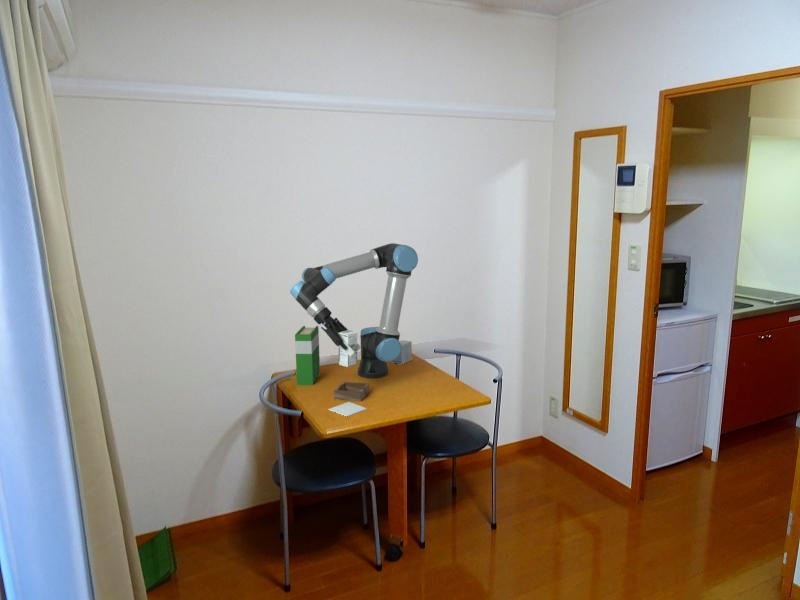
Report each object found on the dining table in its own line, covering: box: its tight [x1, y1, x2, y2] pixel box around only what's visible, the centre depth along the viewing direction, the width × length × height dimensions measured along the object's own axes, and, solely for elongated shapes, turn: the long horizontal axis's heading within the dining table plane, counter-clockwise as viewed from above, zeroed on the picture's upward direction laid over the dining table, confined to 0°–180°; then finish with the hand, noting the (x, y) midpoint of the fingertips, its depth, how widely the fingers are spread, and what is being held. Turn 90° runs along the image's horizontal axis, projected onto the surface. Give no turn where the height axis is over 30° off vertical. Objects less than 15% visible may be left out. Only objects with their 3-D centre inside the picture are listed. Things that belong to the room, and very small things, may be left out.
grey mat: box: [328, 401, 368, 418], centre depth 233 cm, size 11×11×1 cm
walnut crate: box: [333, 381, 370, 403], centre depth 249 cm, size 12×12×4 cm
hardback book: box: [294, 325, 321, 386], centre depth 270 cm, size 18×7×24 cm, turn 177°
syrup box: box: [338, 329, 358, 368], centre depth 243 cm, size 6×6×14 cm
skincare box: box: [391, 340, 413, 365], centre depth 298 cm, size 10×6×10 cm, turn 147°
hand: (355, 351), depth 242 cm, fingers closed on syrup box, 7 cm apart
